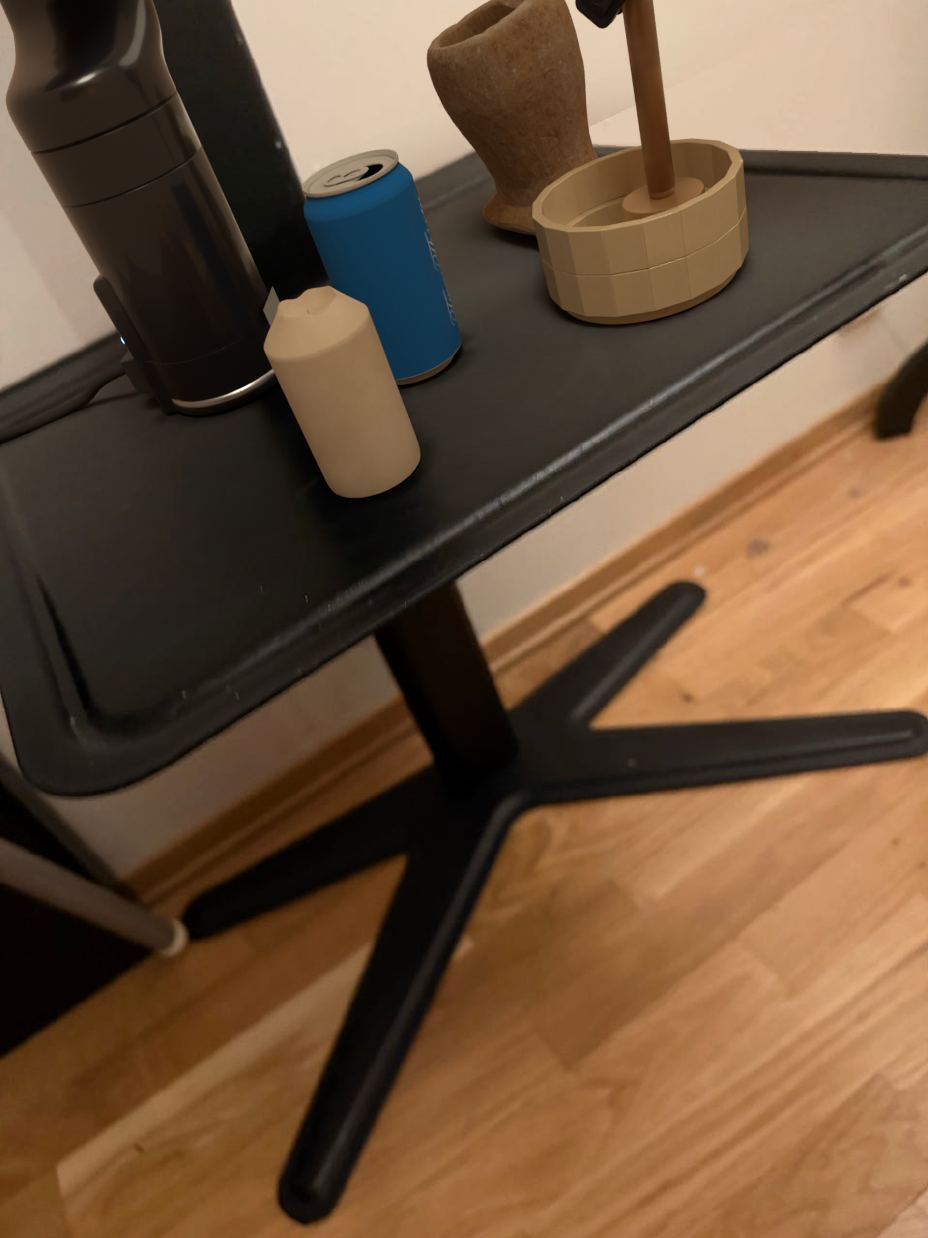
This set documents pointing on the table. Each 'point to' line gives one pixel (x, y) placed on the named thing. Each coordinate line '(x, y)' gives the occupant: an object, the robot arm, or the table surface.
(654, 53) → the wooden plunger
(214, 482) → the table surface
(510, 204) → the stone cup
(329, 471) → the candle
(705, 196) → the bowl
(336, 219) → the beverage can
